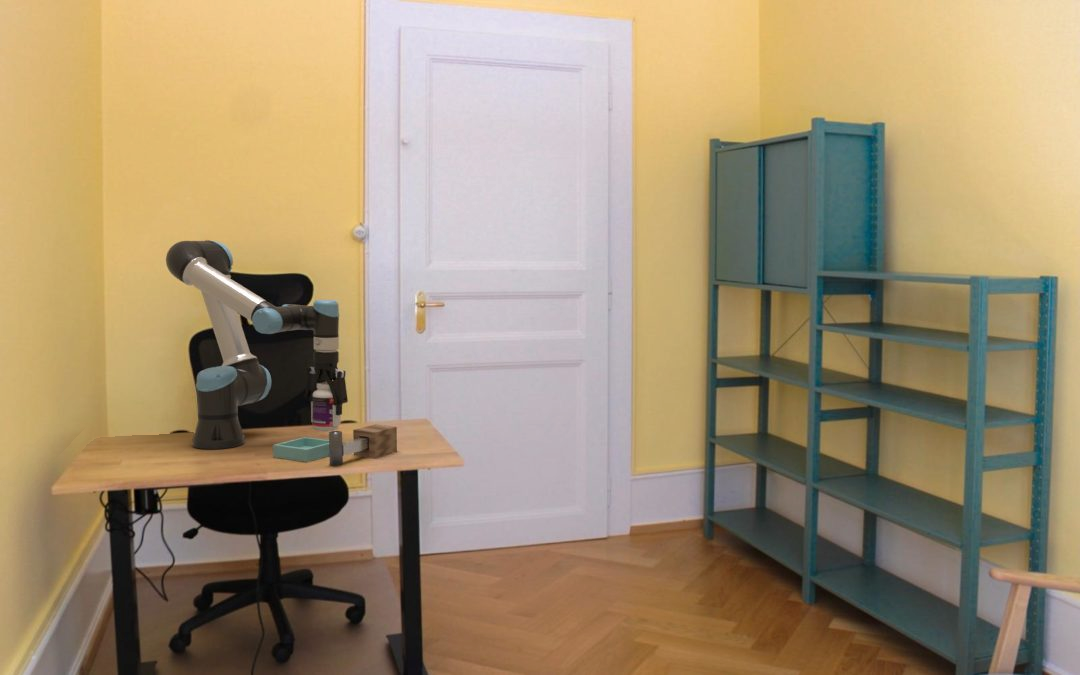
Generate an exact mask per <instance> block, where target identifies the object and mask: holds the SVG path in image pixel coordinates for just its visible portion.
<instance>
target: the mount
mask: <svg viewBox="0 0 1080 675" xmlns="http://www.w3.org/2000/svg"><path fill="white" fill-rule="evenodd" d="M397 430H398V427H397V426H392V425H383V424H377V423H376V424H372V425H368V426H364V427H359V428H355V429H352V432H353V433H352V434H353V435H352V437H353V439H357V438H361V437H364V436H365V437H369V449H366V450H362V451H359V452H355V453H353V456H355V455H356V457H364V458H371V459H378V458H380V457H383V456H388V455H391V454H394V453H397V452H398V435H397V434H398V433H397ZM353 439H352V440H353Z"/></svg>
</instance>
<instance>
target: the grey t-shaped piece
mask: <svg viewBox="0 0 1080 675" xmlns="http://www.w3.org/2000/svg"><path fill="white" fill-rule="evenodd" d="M328 440H329V456H328V457H329V466H342V465H344V458H343V457H344V456H347V455H351V454H354V453H355V452H359V451H362V450H366V449H369V437H365V436H364V437H361V438H357V439H349V440H346V441H343V431H342V430H333V431H328Z"/></svg>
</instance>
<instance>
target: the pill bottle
mask: <svg viewBox="0 0 1080 675" xmlns="http://www.w3.org/2000/svg"><path fill="white" fill-rule="evenodd" d="M317 388H318V389H317V390H316V391H314V393H313V416H312V422H311V423H312V424H311V425H312V429H313V430H315V431H317V432H331V431H337V429H339V427H340V425H338V426H333V404H335V402H334V399H333V396H332V393H331V390H330V387H329V384H327V381H324V382H321V383H317ZM338 401H339V400H338Z"/></svg>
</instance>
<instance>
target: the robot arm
mask: <svg viewBox="0 0 1080 675" xmlns="http://www.w3.org/2000/svg"><path fill="white" fill-rule="evenodd" d="M165 263H166V264H165V265H166V267H167V269H168V271H169V273H170V274H171V275H172V276H173V277H175V278H176V279H177V280H178V281H180V282H182V283H183V284H185V285H187V286H193V287H194V288H196V289H198V290H200V292H201V295H202V299H203V301H204V304H205V308H206V311H207V313H208V314H207V315H208V317H209V319H210V323H211V326H212V330H213V332H214V335H215V338H216V342H217V344H218V348H219V351H220V354H221V357H222V361H223V362H222V364H221V365H220V366H218V365H217V366H212V367H208V368H205V369H203V370H200V371H199V372H198V373H197V375H196V384H195V385H196V386H195V388H196V403H197V404H196V405H197V406H196V407H197V423H196V427H195V432H194V434H193V437H192V447H193V448H196V449H201V450H202V449H203V450H217V449H219V450H220V449H229V448H235V447H239V446H242V445H244V444H245V441H246V440H245V434H244V432H243V429H242V426H241V423H240V421H239V416H238V414H239V412H238V411H239V410H238V409H239V408H238V407H239V406H243V405H247V404H254V403H257V402H259V401H261V400H263V399H265V398H266V397H267V396H268V394H269V392H270V390H271V387H272V377H271V374H270V372H269V370H268V369H267V368H266V367H265V366H264V365H261V364H260V362H259V360H258V357H257V356H256V355H254V354H252V353H251V352H250V348H249V344H248V341H247V339H246V335H245V332H244V329H243V326H242V323H241V320H240V317H239V315H241V316H242V317H244V318H245V319H247V320H248V321H251V324H252V325H253V326H252V327H254V329H255V331H256V332H258V333H260V334H261V335H263V334H265V335H272V334H276V333H282V332H288V331H289V332H290V331H297V330H300V331H301V330H302V331H312V332H313V350H314V351H313V364H314V366H310V367H307V368H306V374H307V375H306V383H305V388H304V389H305V391H304V398H305V399H307V400H308V401H309V411H310V415H311V416H310V421H311V423H312V416H313V393H314V391H316V390H317V389H318V388H317V383H321V382H327V384H329V387H330V390H331V393H332V396H333V399H334V402H335V404H333V426H338V425H339V426H341V421H342V420H341V417H342V416H341V415H343V404H346V403H348V402H349V400H348V393H347V392H348V391H347V383H346V371H345V370H340V369H339V368H338V363H339V362H340V360H339V359H340V358H339V354H340V353H339V351H338V350H339V347H340V345H339V344H340V343H339V342H340V341H339V340H340V339H339V338H340V337H339V336H340V335H339V330H340V329H339V326H340V325H339V324H340V323H339V322H340V321H339V320H340V310H339V309H340V308H339V302H338V301H336V300H334V299H333V300H332V299H316V300H314V302H313V304H312V305H303V304H302V305H301V304H295V303H294V304H293V303H291V304H282V305H281V306H275V305H273V303H271V302H268V301H267V300H266V299H264V298H263V297H261V296H259V295H257V294H256V293H254V292H253V291H251V290H250V289H248V288H246V287H244V286H243V285H242V284H240V283H238V282H236V281H235V280H233V279H231V278H232V276H231V273H230V272H231V270H232V268H233V267H232V266H233V264H234V261H233V254H232V252H231V251H230V250H229V248H228V247H227V246H226V245H225V244H224V243H221V242H220V241H215V240H208V239H206V240H181V241H178V242H175V243H173V245H172V246H170V248H169V249H168V251H167V252H166V256H165ZM338 400H339V401H338Z"/></svg>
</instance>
